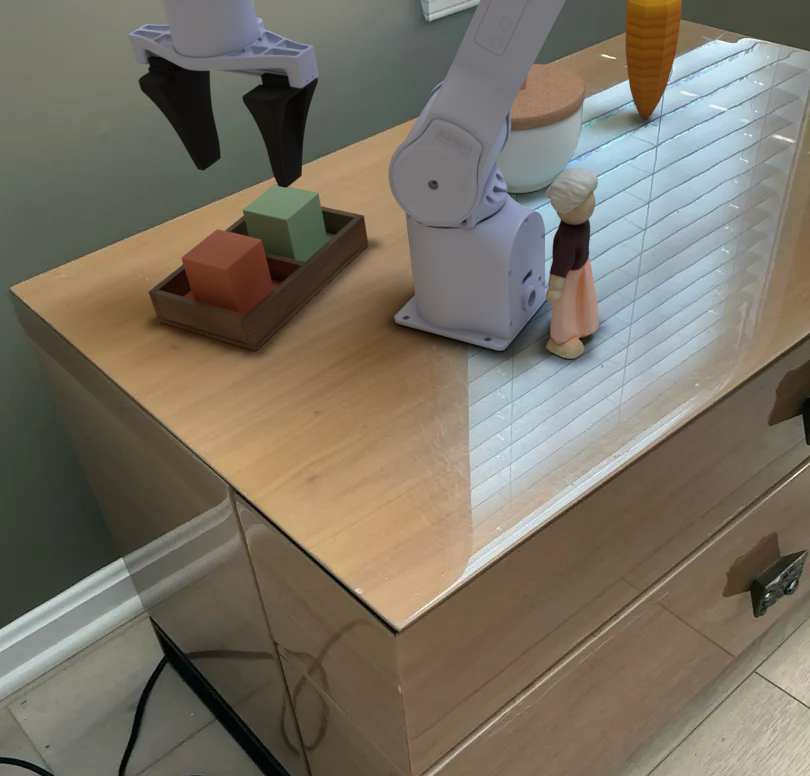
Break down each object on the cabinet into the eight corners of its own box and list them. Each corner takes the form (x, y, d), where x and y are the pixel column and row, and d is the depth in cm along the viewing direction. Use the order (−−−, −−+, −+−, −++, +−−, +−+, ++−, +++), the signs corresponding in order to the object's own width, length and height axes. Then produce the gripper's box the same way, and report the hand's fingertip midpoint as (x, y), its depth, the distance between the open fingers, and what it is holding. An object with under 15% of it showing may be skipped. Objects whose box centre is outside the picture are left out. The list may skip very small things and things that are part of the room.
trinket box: (523, 219, 81) (521, 109, 74) (439, 182, 87) (429, 76, 80) (607, 170, 85) (613, 61, 78) (521, 137, 91) (519, 34, 84)
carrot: (609, 114, 92) (618, -61, 81) (656, 102, 93) (671, -73, 82) (633, 135, 89) (645, -45, 78) (681, 122, 89) (700, -58, 78)
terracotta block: (274, 289, 76) (262, 239, 73) (240, 320, 74) (225, 269, 71) (231, 278, 78) (217, 228, 75) (196, 307, 76) (180, 257, 72)
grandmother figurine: (594, 368, 66) (602, 199, 57) (539, 366, 67) (538, 199, 58) (601, 305, 71) (610, 140, 62) (550, 304, 72) (551, 140, 63)
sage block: (328, 242, 80) (318, 192, 77) (297, 270, 78) (286, 219, 75) (285, 232, 82) (274, 183, 79) (254, 259, 80) (241, 209, 76)
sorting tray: (368, 245, 81) (364, 215, 79) (255, 351, 72) (247, 320, 70) (275, 223, 85) (269, 194, 83) (158, 321, 76) (147, 291, 74)
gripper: (329, -49, 59) (360, 162, 69) (155, -63, 65) (207, 133, 75) (260, -8, 55) (304, 209, 65) (83, -26, 61) (148, 175, 71)
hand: (248, 172), depth 70 cm, fingers open, 7 cm apart
